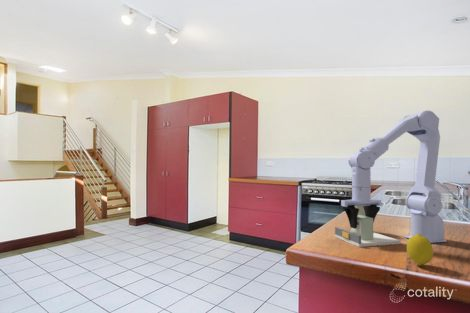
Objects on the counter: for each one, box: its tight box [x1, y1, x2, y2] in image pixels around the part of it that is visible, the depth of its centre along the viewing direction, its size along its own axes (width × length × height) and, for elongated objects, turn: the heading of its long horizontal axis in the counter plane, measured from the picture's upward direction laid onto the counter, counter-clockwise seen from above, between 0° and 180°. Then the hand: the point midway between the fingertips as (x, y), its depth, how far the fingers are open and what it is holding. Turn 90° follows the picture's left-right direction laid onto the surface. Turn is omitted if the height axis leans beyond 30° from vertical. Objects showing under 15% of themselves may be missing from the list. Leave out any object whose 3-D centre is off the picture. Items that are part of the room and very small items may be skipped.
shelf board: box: [334, 226, 401, 248], centre depth 91 cm, size 16×12×3 cm
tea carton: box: [350, 215, 374, 240], centre depth 90 cm, size 4×6×7 cm
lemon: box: [406, 234, 434, 267], centre depth 68 cm, size 6×6×8 cm
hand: (361, 227), depth 91 cm, fingers open, 6 cm apart
